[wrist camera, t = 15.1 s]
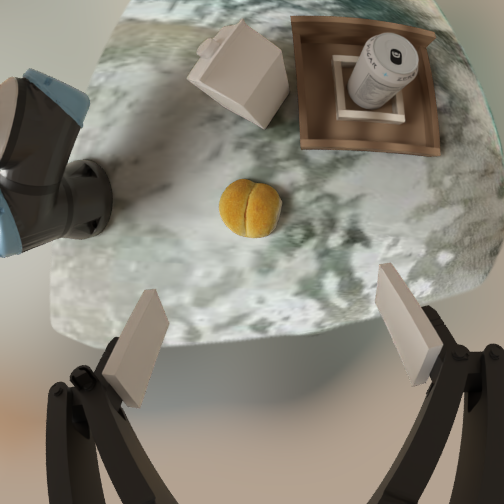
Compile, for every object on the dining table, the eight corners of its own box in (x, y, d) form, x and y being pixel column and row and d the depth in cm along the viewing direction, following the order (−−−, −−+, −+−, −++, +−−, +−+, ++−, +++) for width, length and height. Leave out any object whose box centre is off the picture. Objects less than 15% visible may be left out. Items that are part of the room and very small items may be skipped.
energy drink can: (386, 79, 32) (422, 38, 17) (384, 115, 33) (424, 87, 19) (347, 69, 32) (366, 21, 18) (344, 105, 34) (365, 69, 20)
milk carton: (290, 91, 36) (278, 32, 18) (265, 130, 38) (232, 95, 20) (249, 70, 36) (210, 8, 18) (224, 108, 38) (167, 66, 20)
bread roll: (228, 174, 41) (220, 174, 37) (286, 189, 40) (285, 190, 36) (216, 227, 44) (208, 232, 40) (273, 242, 43) (269, 249, 39)
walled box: (300, 149, 38) (300, 143, 30) (293, 41, 33) (290, 16, 26) (429, 156, 34) (453, 154, 27) (416, 51, 30) (434, 32, 22)
